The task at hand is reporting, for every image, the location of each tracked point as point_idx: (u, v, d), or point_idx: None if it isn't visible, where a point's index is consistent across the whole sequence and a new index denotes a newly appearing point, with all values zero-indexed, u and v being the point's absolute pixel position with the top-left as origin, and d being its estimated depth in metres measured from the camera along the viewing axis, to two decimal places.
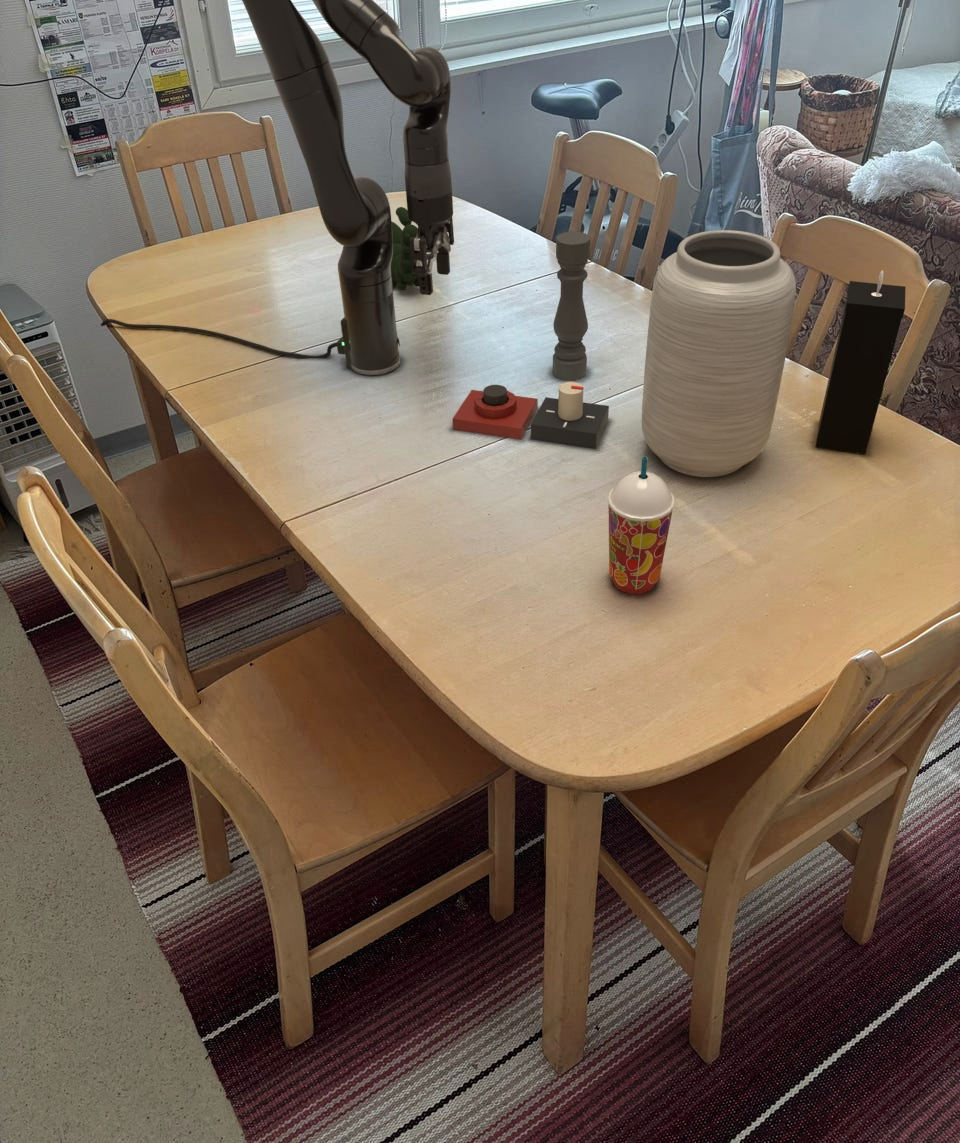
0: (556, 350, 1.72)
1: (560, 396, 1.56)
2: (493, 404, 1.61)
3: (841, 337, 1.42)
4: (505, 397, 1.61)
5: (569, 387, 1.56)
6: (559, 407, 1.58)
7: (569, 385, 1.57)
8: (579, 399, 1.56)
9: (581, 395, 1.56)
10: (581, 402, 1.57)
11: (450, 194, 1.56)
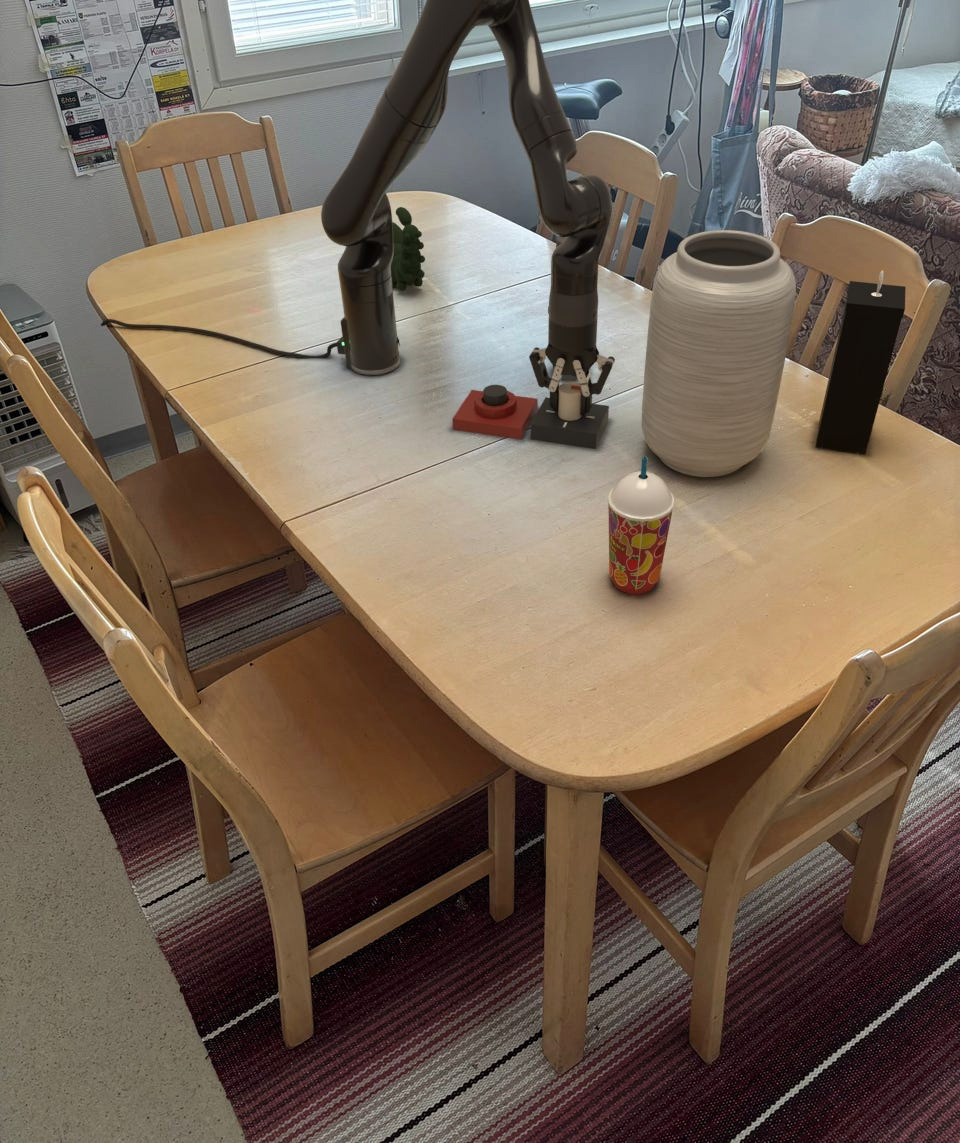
0: None
1: (560, 396, 1.56)
2: (493, 404, 1.61)
3: (841, 337, 1.42)
4: (505, 397, 1.61)
5: (569, 387, 1.56)
6: (559, 407, 1.58)
7: (569, 385, 1.57)
8: (579, 399, 1.56)
9: (581, 395, 1.56)
10: None
11: (566, 328, 1.46)
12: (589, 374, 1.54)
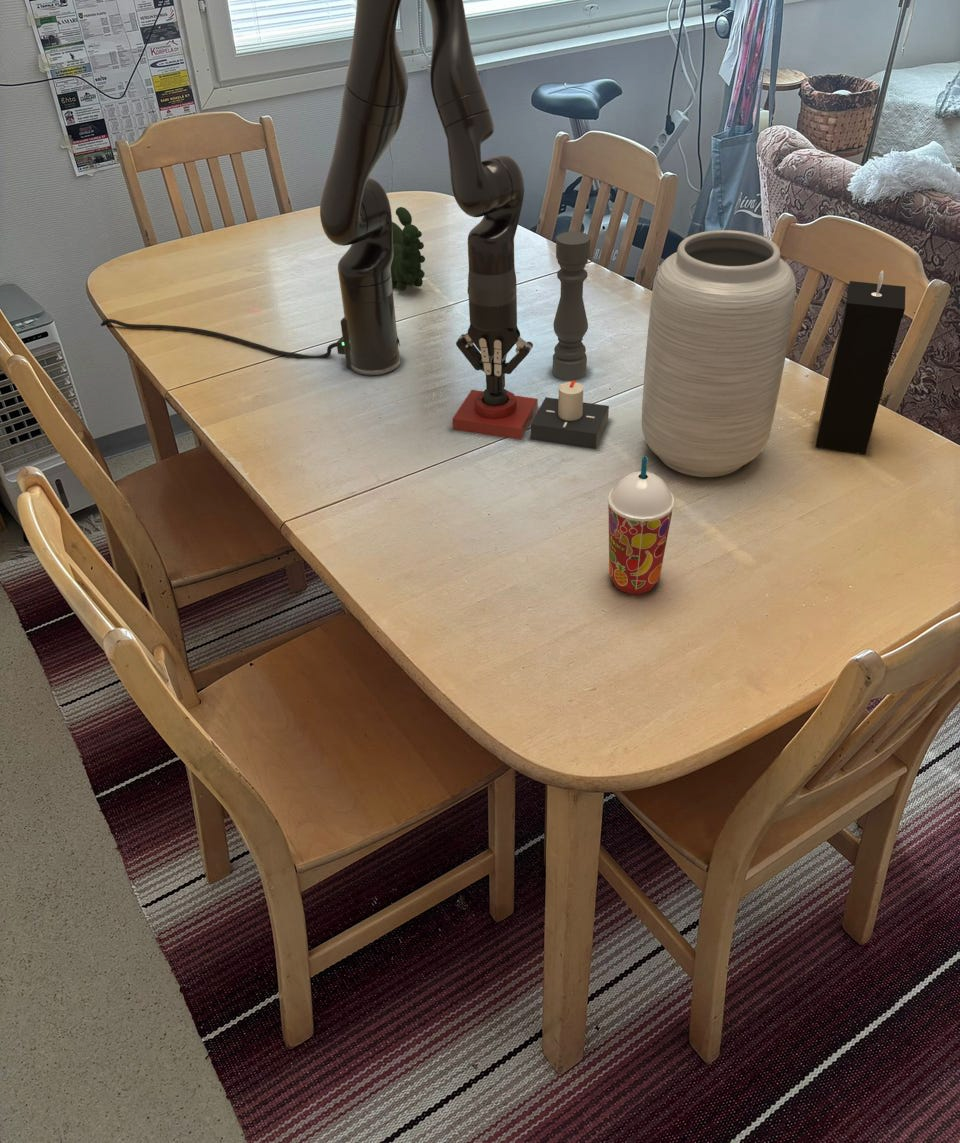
0: (556, 350, 1.72)
1: (577, 398, 1.55)
2: None
3: (841, 337, 1.42)
4: (505, 399, 1.61)
5: (571, 388, 1.56)
6: (575, 410, 1.57)
7: (566, 388, 1.56)
8: None
9: None
10: None
11: (484, 308, 1.48)
12: (505, 355, 1.57)
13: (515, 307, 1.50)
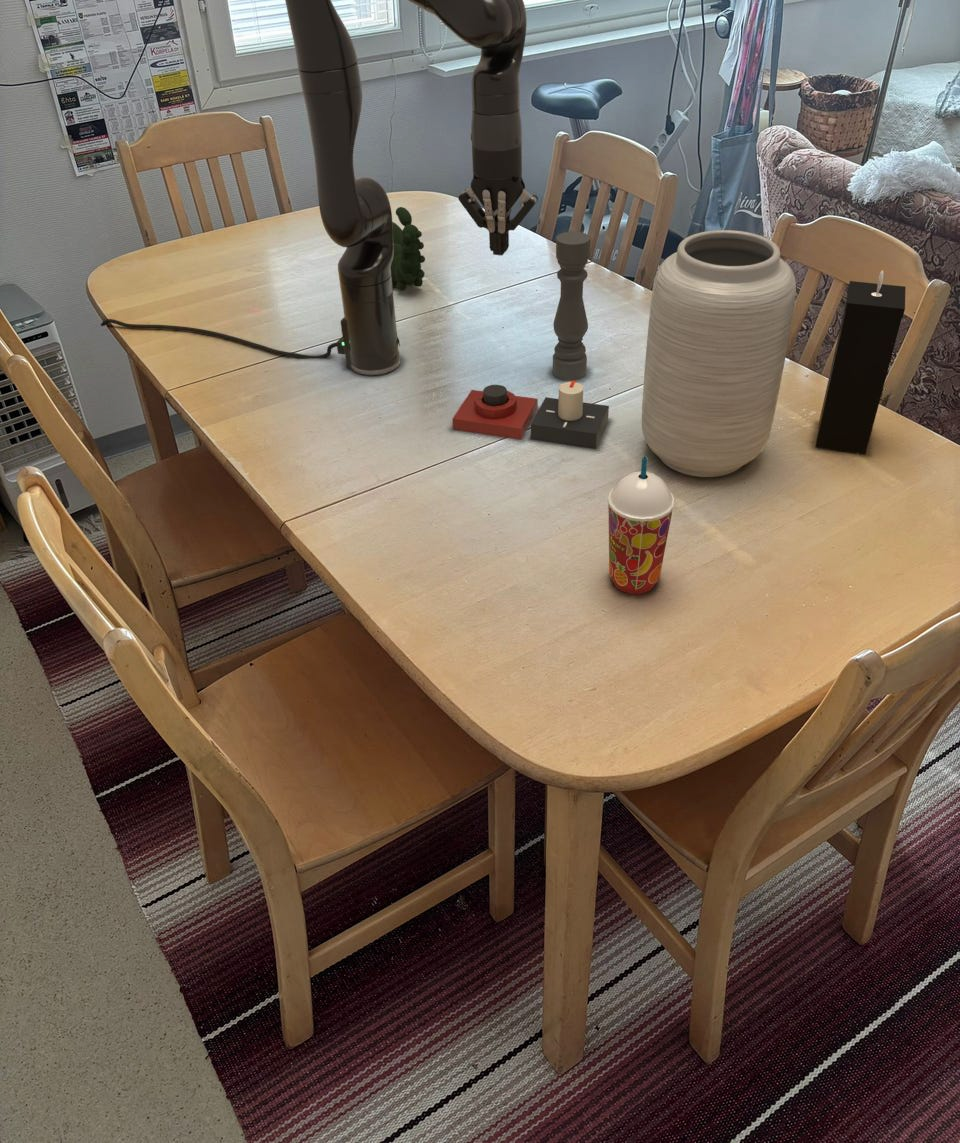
0: (556, 350, 1.72)
1: (577, 398, 1.55)
2: (493, 404, 1.61)
3: (841, 337, 1.42)
4: (505, 397, 1.61)
5: (571, 388, 1.56)
6: (575, 410, 1.57)
7: (566, 388, 1.56)
8: None
9: None
10: None
11: (488, 153, 1.43)
12: (509, 211, 1.52)
13: (520, 155, 1.45)
